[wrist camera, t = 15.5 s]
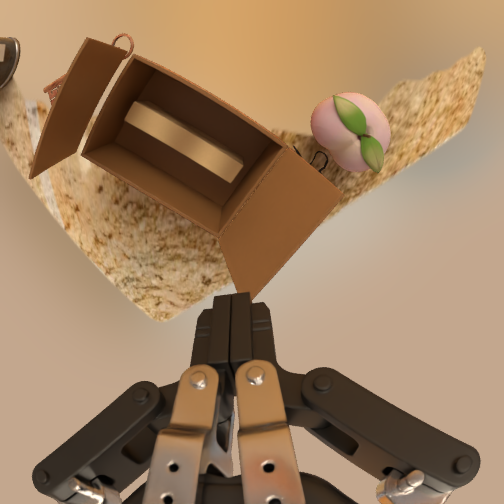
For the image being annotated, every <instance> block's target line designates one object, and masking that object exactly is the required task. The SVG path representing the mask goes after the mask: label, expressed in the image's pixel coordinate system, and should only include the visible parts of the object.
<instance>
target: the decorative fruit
mask: <svg viewBox="0 0 504 504" xmlns="http://www.w3.org/2000/svg"><path fill="white" fill-rule="evenodd" d="M311 129H312V133H313V135H314V137H315V139H316V141H317V142H318V143H319V144H320V145H322V146H323V147H325V148H327V149H328V151H329V153H330V155H331V156H332V158H333V159H334V161H335V162H336V163H337V164H338V165H339V166H340V167H342V168H343V169H345V170H347V171H351V172H362V171H365V170H368V169H370V168H371V169H372V170H373V171H375V172H377V173H379V172H380V170H381V168H382V166H383V161H384V154H385V152H386V150H387V148H388V146H389V143H390V136H391V134H390V127H389V123H388V121H387V118H386V117H385V115H384V113H383V112H382V111H381V109H380V108H379V107H378V106H377V104H376V103H375V102H374V101H372V100H371V99H369V98H368V97H365V96H364V95H362V94H359V93H354V92H345V93H340V94H336V95H333V96H332V97H329V98H327V99H325V100H324V101H322V102H321V103H320V104H318V105H317V107H316V108H315V109H314V111H313V113H312V117H311Z"/></svg>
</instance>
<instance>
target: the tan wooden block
mask: <svg viewBox="0 0 504 504" xmlns="http://www.w3.org/2000/svg"><path fill="white" fill-rule="evenodd" d="M124 120H125V121H126V122H128V123H130V124H132V125H134V126H135V127H137V128H139V129H141V130H142V131H144V132H146V133H148V134H149V135H151V136H153V137H155V138H156V139H158V140H160V141H162V142H163V143H165V144H167V145H168V146H170V147H172V148H174V149H175V150H177V151H179V152H180V153H182V154H184V155H185V156H187V157H189V158H190V159H192V160H194V161H195V162H197V163H198V164H200V165H202V166H203V167H205V168H207V169H208V170H210V171H211V172H213V173H215V174H216V175H218V176H219V177H221V178H223V179H224V180H226V181H227V182H229V183H232V181H233V180H234V178H235V177H236V175H237V174H238V173H239V171H240V170H241V169H242V167H243V157H242V156H240V155H239V154H237V153H235V152H234V151H232V150H231V149H229V148H228V147H226V146H225V145H223V144H221V143H220V142H218V141H217V140H215V139H213V138H212V137H210V136H209V135H207V134H205V133H204V132H202V131H200V130H199V129H197V128H195V127H194V126H192V125H190V124H189V123H187V122H185V121H183V120H182V119H180V118H178V117H177V116H175V115H173V114H171V113H170V112H168V111H166V110H164V109H162V108H161V107H159V106H157V105H155V104H153V103H151V102H150V101H134V103H133V105H132V106H131V108H130V110H129V112H128V114H127V115H126V117H125V119H124Z"/></svg>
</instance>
